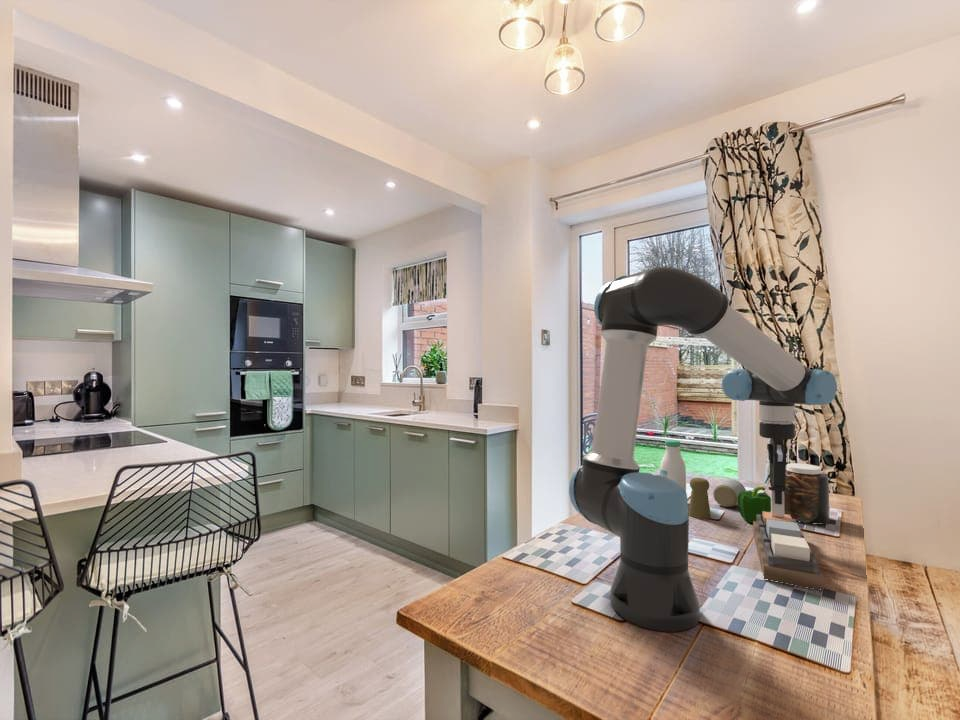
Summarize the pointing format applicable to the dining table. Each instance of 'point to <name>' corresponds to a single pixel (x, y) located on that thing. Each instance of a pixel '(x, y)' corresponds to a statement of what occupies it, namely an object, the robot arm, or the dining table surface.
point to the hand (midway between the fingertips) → (777, 515)
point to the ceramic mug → (728, 492)
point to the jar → (806, 493)
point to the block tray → (785, 562)
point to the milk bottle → (673, 463)
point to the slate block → (782, 528)
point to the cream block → (790, 547)
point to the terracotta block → (775, 517)
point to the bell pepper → (753, 504)
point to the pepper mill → (699, 499)
